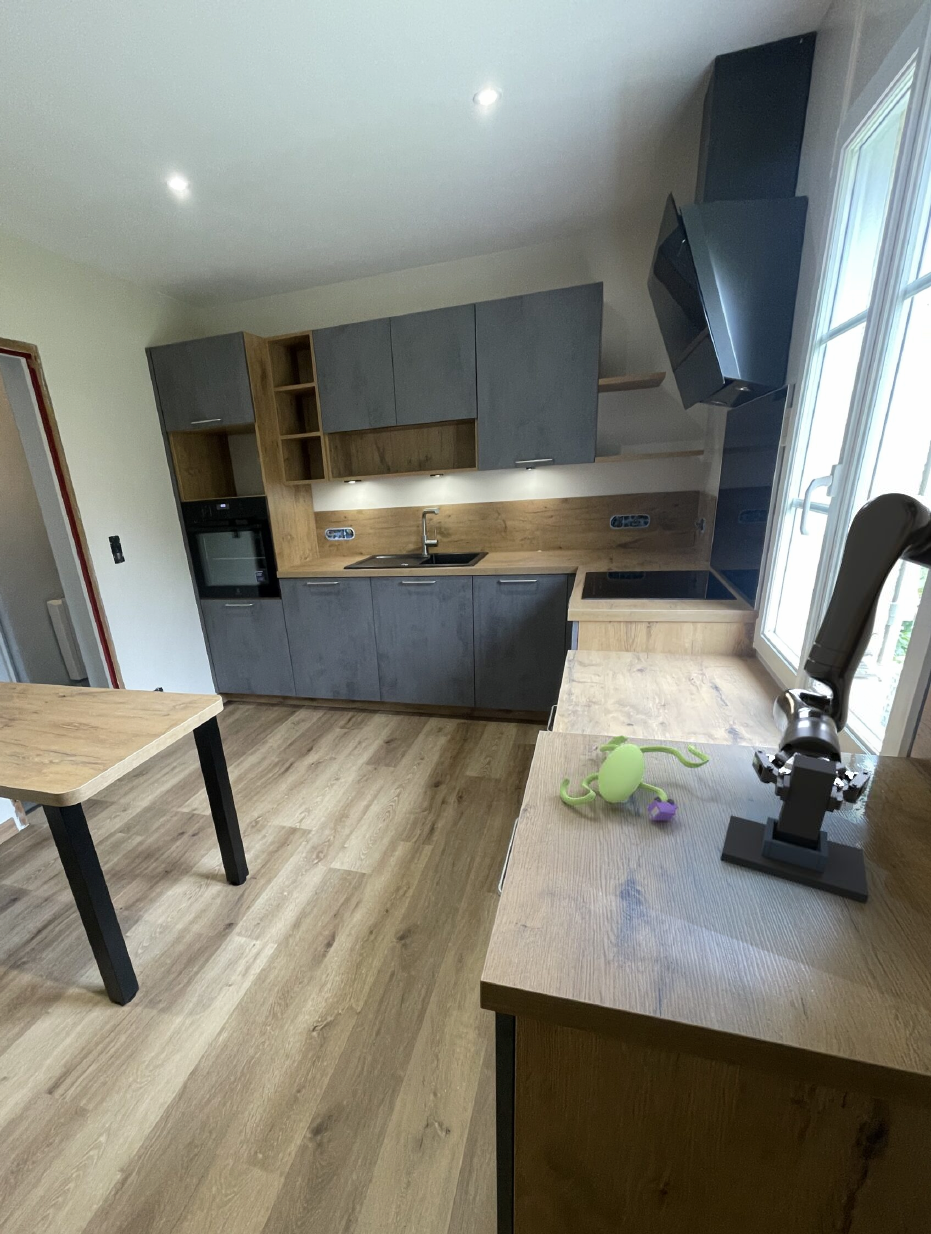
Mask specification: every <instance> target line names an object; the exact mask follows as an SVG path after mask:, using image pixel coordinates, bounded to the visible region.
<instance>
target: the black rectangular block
mask: <svg viewBox="0 0 931 1234" xmlns="http://www.w3.org/2000/svg"><path fill="white" fill-rule="evenodd" d="M836 776H837V771H836V762H833V761H828V760H823V759H818V758H813V757H808V756H803V755H798V754H796V755H795V758H794V762H793V766H792V769H791V773H790V788H789V792H788V796H787V799H786V801H782V804H781V807H780V811H779V815H778V820H779V821H778V831H781V832H785V833H789V834H793V835H796V836H800V837H804V838H808V839H811V840H815V841H817V839H818V836H819V832H820V830H822V825H823V822H824V819H825V816H826V812H827V811H826V808H827V805H828V802H829V798H830V795H831V793H832V789H833V786H834V783H835V780H836Z"/></svg>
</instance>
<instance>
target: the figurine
mask: <svg viewBox="0 0 931 1234" xmlns="http://www.w3.org/2000/svg"><path fill="white" fill-rule="evenodd" d="M627 741H628V736H626V735H618V736H615V737H614V738H612V739H610V740H609V741H608V742H607V743H605V744H602V745H601V746H600V747H599V752H600V753H607V752H606V751H609V755H607V757H606V758H605V760H604V761H603V763H602V764H601V767H600V770H599V772H595V773H591V774H589V775H588V776H585V778H584V779H583V780H582V782H581V786H582V788H584V789H586V790H587V791H589V792H588V794H585V796H580V797H571V796H569V795H568V794H567V790H568V789H567V788H568V787H569V784H570V778H564V779H563V780H562V781H561V783H560V786H559V796H560V799H561V800H562V801H563V802H564V803H566V804H568V805H571V806H582V805H586V804H589V803H591V802H592V801H594V800H595V798H596V797H597V795H596V792H595V791H593V790H592V789H591V788H590V787H589V786H590V784H591V783H592V782H595V781H597V788H598V791H599V794H600V795H601V796H602V798H603V799H604V800H605V801H606V802H608V803H613V804H618V803H623V804H627V803H628V801H629V798H630V797H631V796H632V794H634V793H635V791H636V790H638V788H639V789H642V790H644V791H647V792H648V791H649V792H651V793H655V794H656V795H657V796H655V797H654V799H653V800H654V801H652V802H651V804H649V805H648V806H646V810H647V811H648V813H649V815H650V816H651V820H654V821H665V822H668V821H670V819H672V818H673V817H674V816H675V815H676V814H677V813H676V812H677V811H676V810H677V809H678V808H679V805H678V804H677V803H676V802H675V801H674V800H673V799H672V798H668V795H667V794H666V792H665V791H664V790H663V789H661V788H659V787H657V786H654V785H652V784H648V783H646V782H644V781H643V778H644V775H645V771H646V758H645V756H644V754H645V753H646V754H647V753H665V754H669V755H673V756H674V757H675V758H677V759H678V762H680V763H681V764H682V765H683V767H685V768H688V769H698V768H701V767H703V766H704V765H706V764H708V763H709V762H710V757H709V756H708V755H707V754H705V753H703V752H701V751H699V750H698V749H697V748H695V746H693V745H692V744H688V745H687V746H686V750H687V751H688V752H689V753H690V754H691V755H693V756H695V757H696V758H698V759H700V760H701V761H700V762H697V761H691V760H688V759H687V758H686V757H685V756H684V754H683V753H682V752H681V751H680V750H679V749H677V748H675V747H671V746H665V745H643V746H637V745H636V744H633V743H626V742H627ZM623 743H625V744H623ZM621 744H622V745H621Z"/></svg>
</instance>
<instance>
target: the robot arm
mask: <svg viewBox="0 0 931 1234" xmlns="http://www.w3.org/2000/svg"><path fill="white" fill-rule="evenodd" d="M899 560H901V561H905V562H909V563H911V564H914V565H917V566H920V567H923V568H925V569H928V570H931V499H930V498H928V497H925V496H921V495H918V494H912V493H907V492H898V491H897V492H896V491H895V492H892V491H891V492H885V493H881V494H879V495H876V496H873V497H872V498H870V499H868V500H867V501H865V502H864V503H863V504H862V505H861V506H859V508H858V509H857V510H856V511H855V513H854V514H853V516H852V518H851V521H850V523H849V527H848V530H847V534H846V539H845V542H844V547H843V552H842V557H841V560H840V561H841V562H840V566H839V569H838V573H837V577H836V579H835V580H836V581H835V584H834V588H833V591H832V594H831V597H830V601H829V603H828V605H827V609H826V612H825V614H824V617H823V620H822V622H821V625H820V627H819V630H818V632H817V635H815V638H814V641H813V643H812V646H811V647H810V651H809V652H808V655H807V657H806V660H805V661H804V665H803V669H802V670H803V673H804V675H806V676H807V677H808V678H809V679H811V680H814V681H816V682H819V683H821V684H823V685H825V686H826V687H827V688H828V689H829V690H830V695H827V694H823V693H819V692H815V691H811V690H807V689H803V688H799V687H792V688H788V689H785V690H783V691H782V692H780V694H778V695H777V697H776V699H775V701H774V704H773V709H772V710H773V711H772V712H773V713H772V714H773V719H774V722H775V724H776V726H777V728H779V730H780V731H781V735H780V738H779V742H778V752H776V753H775V754H774V755H770V754H767V753H766V751H765V750H763V749H755V750H754V754H753V759H752V764H751V766H752V768H753V770H754V772H755V773H756V775H757V777H758V780H759V781H760V782H761V783H762V784H766V785H768V784H769V785H770V784H771V783H772V784H773V785H774V793H773V794H774V795H775V796H777V797H779V801H782V802H783V801H786V799H787V796H788V792H789V788H790V773H791V769H792V766H793V762H794V758H795V755H796V754H798V755H803V756H808V757H813V758H818V759H823V760H828V761H833V762H836V771H837V776H836V780H835V783H834V786H833V789H832V793H831V795H830V798H829V802H828V805H827V808H826V812H829V813H832V814H834V811H840V810H841V808H842V805H843V801H845V802H846V803H848V804H856V803H857V801H858V800H860V798H861V797H862V796H863V794H864V793H865V792H866V791H867V788H868V786H869V782H870V779H871V776H872V773H871V772H869V771H867V770H860V771H859V772H851V771H848V770H847V767H846V766H845V765H843V763H842V752H841V741H840V738H839V736H838V735H839V734H840V733H842V731H843V730H844V729H845V727H846V725H847V722H848V718H849V707H850V706H849V704H850V696H851V695H850V694H851V689H852V685H853V681H854V678H855V675H856V673H857V671H858V668H859V667H860V664H861V662H862V660H863V658H864V656H865V653H866V651H867V649H868V647H869V644H870V643H871V640H872V639H871V638H872V636H873V632H874V628H875V623H876V617H877V610H878V606H879V601H880V597H881V594H882V591H883V589H884V586H885V584H886V581H887V579H888V577H889V575H890V574H891V572H892V570H893V569H894V567H895V566H896V564H897V562H898V561H899ZM775 768H776V769H777V770H776V769H775ZM844 780H845V781H846V782H847V784H848V785H846V784H845V783H843V782H842V781H844Z"/></svg>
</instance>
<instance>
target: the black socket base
mask: <svg viewBox="0 0 931 1234" xmlns="http://www.w3.org/2000/svg"><path fill="white" fill-rule="evenodd" d="M778 821H779V818H774V817H770V816H767V819H766V823H762V822H758V821H754V820H750V819H747V818H744V817H740V816H736V815H733V814H732V815H730V817H729V822H728V825H727V829H726V835H725V837H724V838H725V839H724V843H723V847H722V851H721V855H720V860H721V861H724V862H726V863H731V864H733V865H737V866H740V867H743V868H747V869H750V870H754V871H757V872H761V873H764V874H767V875H771V876H773V877H778V878H780V879H784V880H787V881H791V882H794V883H797V884H801V885H804V886H807V887H810V888H814V889H817V890H820V891H823V892H827V893H831V894H833V895H836V896H840V897H844V898H847V899H851V900H853V901H858V902H860V903H864V904H866V903H867V901H868V898H869V890H868V882H867V873H866V867H865V860H864V859H865V858H864V852H863V848H859V847H855V846H851V845H847V844H843V843H839V842H835V841H832V840H828V831H825V830H822V829H820V832H819V836H818V839H817V841H815V840H811V839H808V838H804V837H800V836H796V835H793V834H789V833H785V832H781V831H778Z"/></svg>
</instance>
